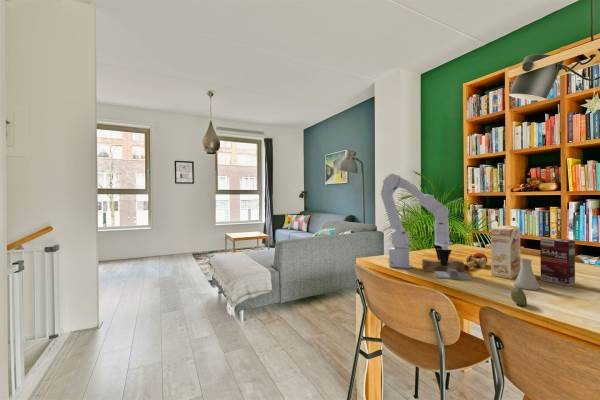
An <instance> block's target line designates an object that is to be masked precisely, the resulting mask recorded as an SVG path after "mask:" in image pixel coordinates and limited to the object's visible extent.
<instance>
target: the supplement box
mask: <svg viewBox="0 0 600 400" xmlns="http://www.w3.org/2000/svg"><path fill="white" fill-rule="evenodd" d="M539 242H540V244H539V246H540V247H539V248H540V251H539V252H540V255H539V256H540V258H539V259H540V281H544V282H548V283H552V284H553V283H554V284H558V285H562V286H566V287H570V286H571V287H572V286H573V285H576V246H575V245H576V244H575V243H576V242H575V240H569V239H568V240H567V239H559V238H549V237H546V238H545V237H544V238H540V240H539Z"/></svg>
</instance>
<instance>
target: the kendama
mask: <svg viewBox="0 0 600 400" xmlns="http://www.w3.org/2000/svg"><path fill="white" fill-rule="evenodd" d="M487 263H488V257H487V255H486V254H485V253H482V252H476V253H474V254H473V255H472V254H468V255H467V257H466V263H464V272H465V271H466V272H469V271H470V270H471V269H472V268H473V267H474V266H475V265H476V266H478V267H479V269H480V268H481V269H485V268H486V266H487Z"/></svg>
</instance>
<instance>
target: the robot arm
mask: <svg viewBox="0 0 600 400" xmlns="http://www.w3.org/2000/svg"><path fill="white" fill-rule="evenodd" d="M398 188H400V189H403V190H405V191H407V192H409V193H410V194H412V196H414V197H415V198H417V199H418V201H419V202H418V203H419V205H421V206H422V207H423V208H424V209H425V210H427V211H428V212H430V213H432V214H433V217H434V245H433V249H435V253H436V256H437V260H440V262H441V265H444V266H447V263H448V260H449V257H450V255H451V253H452V252H453V251H452V249H449V248H448V247H449V246H451V245H453V242H452V241H450V222H449V217H448V216H449V213H450V211H449V209H448V207H447V205H443V203H442V202H441V201H440V202H439V200H437V199H436V198H435V197H434V195H433V194H429V193H426V194H425V193H423V192H422V191H421V190H420V189H418V188H417V187H416V186H415V185H413V184H412V183H411V182H410V181H409V180H407V179H405V178H403V177H401V176H400V175H399V174H394V173H389V174H387V175H385V178H384V179H383V181H382V186H381V192H380V195H381V199H382V202H383V205H384V208H385V212H386V215H387V218H388V221H389V224H390V228H391V236H392V238H391V243H392V245H393V246H392V247H391V246H389V247H388V256H389V257H388V267H389V268H399V269H400V268H401V269H404V268H405V269H412V267H411V263H410V246H409V243H410V240H411V239H410V236H409V234H408V233H407V232H406V229H405V228H404V226H403V224H402V221H401V218H400V213H399V212H398V208H397V205H396V203H395V199H394V196H393V195H394V193H395V192H396V190H398Z"/></svg>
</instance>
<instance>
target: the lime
mask: <svg viewBox="0 0 600 400" xmlns="http://www.w3.org/2000/svg"><path fill="white" fill-rule="evenodd" d="M510 298H511V300H512V301H513V302H514V303H515V304H517V305H519V306H521V307H526V306H527V304H528V302H527V301H528V300H527V297H526V294H525V291H524V290H523V288H518V287H515V288H513V289H512V291H511V293H510Z"/></svg>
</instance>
